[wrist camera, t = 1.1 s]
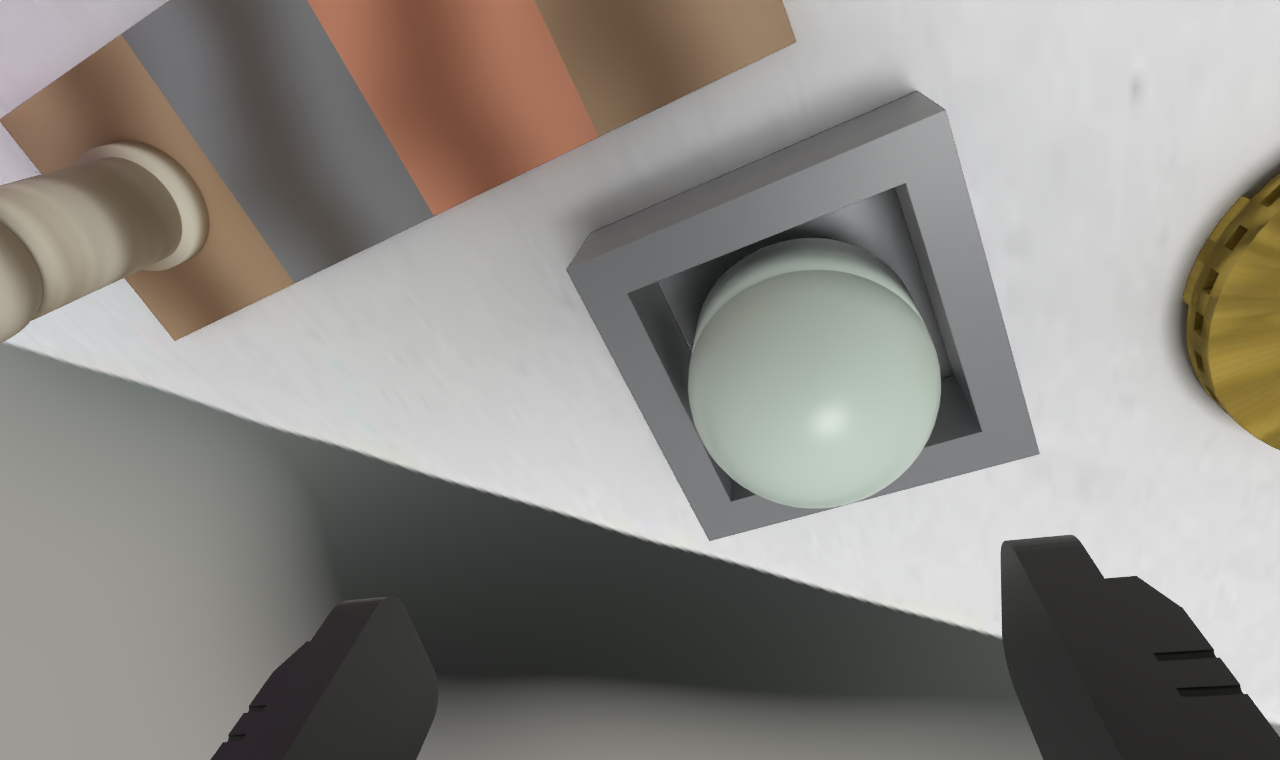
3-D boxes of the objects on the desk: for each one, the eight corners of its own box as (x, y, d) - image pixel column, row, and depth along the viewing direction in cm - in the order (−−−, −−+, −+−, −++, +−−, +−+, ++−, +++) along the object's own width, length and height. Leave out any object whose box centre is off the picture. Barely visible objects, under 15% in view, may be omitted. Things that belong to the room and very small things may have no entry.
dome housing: (917, 90, 23) (945, 109, 20) (1004, 395, 28) (1039, 454, 24) (590, 232, 27) (566, 269, 24) (714, 479, 32) (709, 540, 28)
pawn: (150, 118, 27) (-160, 188, 18) (233, 235, 28) (-9, 352, 19) (66, 171, 28) (-258, 260, 19) (150, 279, 30) (-110, 406, 21)
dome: (877, 194, 23) (924, 278, 17) (940, 387, 26) (1001, 524, 20) (663, 279, 26) (630, 381, 19) (742, 447, 29) (738, 586, 22)
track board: (666, -337, 19) (663, -346, 19) (795, 40, 23) (796, 42, 22) (12, 117, 28) (-2, 120, 28) (184, 335, 32) (174, 340, 31)
